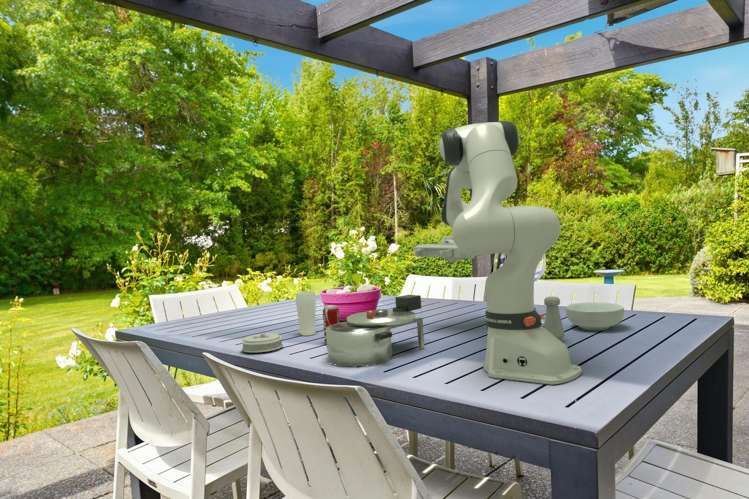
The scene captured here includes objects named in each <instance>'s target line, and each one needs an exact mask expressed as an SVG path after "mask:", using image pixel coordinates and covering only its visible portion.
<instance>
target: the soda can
mask: <svg viewBox="0 0 749 499" xmlns="http://www.w3.org/2000/svg"><path fill="white" fill-rule="evenodd" d="M338 307H339V306H338V305H336V304H335V305H325V306H323V310H322V318H323V333H324V336H323V337H324V343H325V345H327V338H326V328H327V327H328V326H330V325H333V324H337V323H341V319H340V309H339V308H338Z"/></svg>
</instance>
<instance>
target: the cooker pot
mask: <svg viewBox="0 0 749 499" xmlns="http://www.w3.org/2000/svg"><path fill="white" fill-rule="evenodd" d="M423 321H424V319H423V317H417V318H416V317H415V320H413V321H411V322H408V323H404V324H398V325H391V326H378V327H362V326H353V325H349V324H348V323H347V321H343V322H340V323H337V324H333V325H330V326H328V327H327V328H326V338H327V344H326V349H327V350H326V352H327V362H328V361H329V362H330V363H332V364H336V365H340V366H339V367H341V366H363V367H367V366H366V365H371V366H374V365H373V364H376V365H380V364H384V363H386V362H388V360H389V361H390V360H391V359H392V358H393V346H392V345H393V343H392V338H393V332H392V330H393V329H397V328H399V327H404V326H407V325H411V324H415V323H416V328H417V329H416V330H417V346H418V350H424V349H425V338H424V337H425V336H424V334H425V333H424V322H423ZM423 348H424V349H423ZM329 362H328V363H329ZM383 362H384V363H383ZM330 363H329V364H330ZM379 363H380V364H379ZM332 364H331V365H332Z"/></svg>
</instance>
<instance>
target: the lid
mask: <svg viewBox="0 0 749 499" xmlns="http://www.w3.org/2000/svg"><path fill="white" fill-rule="evenodd" d="M282 340H283V336H281V335H280V334H279V333H275V332H274V333H271V332H270V333H265V332H262V333H259V334H258V333H257V334H252V335H249V336H246V337H244V339H243V340H241V344H242V349H241V351H242V352H244V353H253V354H254V353H263V352H265V353H266V352H272V351H275V350H279V349H281V348H283V346H284V344H283V341H282Z"/></svg>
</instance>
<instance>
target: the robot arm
mask: <svg viewBox="0 0 749 499" xmlns="http://www.w3.org/2000/svg"><path fill="white" fill-rule="evenodd" d="M519 145H520V134H519V130H518V129H517V126H516V125H515V123H513V122H512V121H509V120H499V121H493V122H492V121H490V122H480V123H477V122H476V123H471V124H467V125H466V124H465V125H463V126H459V127H455V128H454V127H452V128H448V129H446V130H444V131H443V132H442V133H441V135H440V139H439V144H438V150H439V155H440V156H441V158H442V159H443V162H444V163H445V164H446V165H448V166H451V167H452V168H450V170H449V172H448V174H447V179H446V186H445V193H444V198H443V205H442V208H441V212H440V216H441V217H440V218H441V220H442V223H443V224H444V225H446V226H448V227H451V228H452V231H451V233H452V235H449V236H448V235H447V236H445V237H443V238H442V240H441V241H440V242H439V243H426V244H418V245H415V246H414V247H413V252H414V256H415V257H420V258H421V257H422V258H424V257H425V258H443V259H444V260H445V261H446V262H449V263H453V262H459V261H462V260H463V261H464V260H473V259H475V257H476V256H479V255H480V256H481V255H495V254H497V255H498V254H506V259H505V261H504V263H503V264H502V265H501V266H500V267H499V268H496V269H495V270H493V271H492V272H491V273H490V274H489V275H488V277H487V278H486V281H485V295H486V296H485V298H486V310H485V314H484V315H485V316H484V317H485V327H486V331H487V337H486V338H487V340H486V350H485V358H484V363H483V367H482V368H483V370H484V371H485V372H486V373H487V374H488V377H489V378H493V379H495V378H496V379H501V380H502V379H504V380H511V381H520V382H528V383H535V384H543V385H558V384H559V385H560V384H564V383H567V382H571V381H573V380H574V379H577V378H578V377H579V376H581V375H582V373H583V371H582V368H581V366H580V365H576V364H572V361H571V360H572V359H571V357H570V356H571V355H570V351H569V348H568V346H567V345H566V344H565V343H564V342H563V341H562V342H561V341H560V340H559V339H557V338H556V337H555V336H554V335H552V334H551V333H550V332H549V331H548V330H546V329H545V328H544V325H543V323H542V320H545V317H544V316H546V313H542V314H539V313H538V311H537V310H536V308H535V302H534V300H535V298H534V293H535V292H534V290H535V289H534V288H535V275H536V271H537V268H538V266H539V264H540V262H541V260H542V258H543V257H544V255H545V254H546V253H547V252H548V251H549V250H550V249H551V248H552V247H553V246H554V245H555V244H556V243H557V241H558V239H559V238H560V235H561V222H560V219H559V216H558V214H556V212H555V211H554V210H553V209H552V208H550V207H545V206H544V207H543V206H537V205H521V206H520V205H519V206H503V205H502V203H501V202H503V201H506V199H508V198H509V197H510V196H512V195H513V193H514V192H515V191H516V189H517V186H518V177H517V176H518V175H517V173H516V169H515V165H514V164H515V163H514V161H513V157H514V156H515V155H516V154H517V152H518V151H519ZM463 189H468V190H469V189H471V191H472V192H471V199H470V201H469V203H467V202H465V201H464V200H463V199H462V198H461V196H462V190H463Z"/></svg>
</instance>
